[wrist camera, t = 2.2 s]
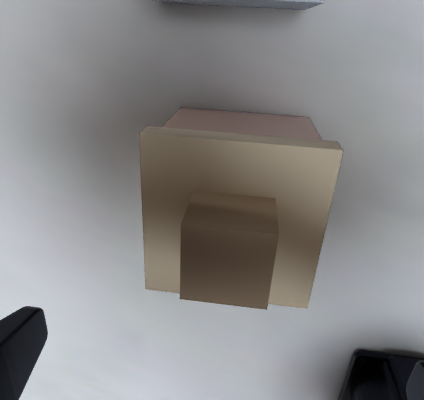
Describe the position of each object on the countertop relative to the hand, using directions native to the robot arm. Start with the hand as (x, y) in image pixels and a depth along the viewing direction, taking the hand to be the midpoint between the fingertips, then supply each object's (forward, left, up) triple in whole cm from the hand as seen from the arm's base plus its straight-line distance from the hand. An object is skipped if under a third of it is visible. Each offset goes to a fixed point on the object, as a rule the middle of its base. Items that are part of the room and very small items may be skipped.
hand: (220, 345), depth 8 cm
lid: (0, 0, -7) cm, 7 cm away
